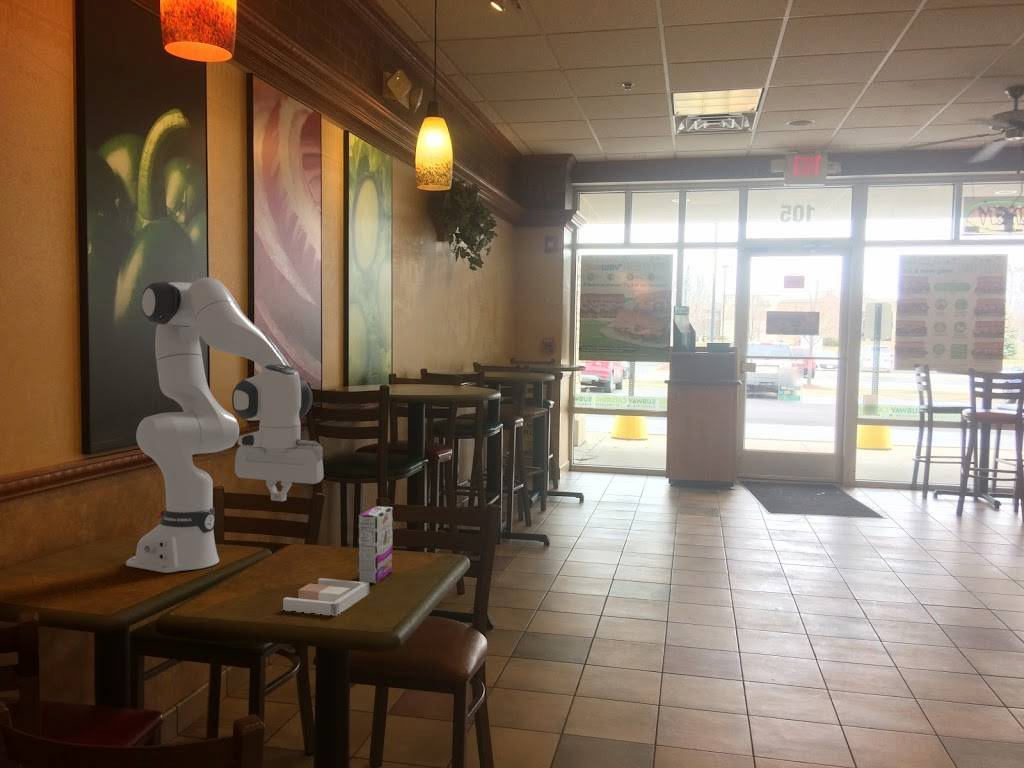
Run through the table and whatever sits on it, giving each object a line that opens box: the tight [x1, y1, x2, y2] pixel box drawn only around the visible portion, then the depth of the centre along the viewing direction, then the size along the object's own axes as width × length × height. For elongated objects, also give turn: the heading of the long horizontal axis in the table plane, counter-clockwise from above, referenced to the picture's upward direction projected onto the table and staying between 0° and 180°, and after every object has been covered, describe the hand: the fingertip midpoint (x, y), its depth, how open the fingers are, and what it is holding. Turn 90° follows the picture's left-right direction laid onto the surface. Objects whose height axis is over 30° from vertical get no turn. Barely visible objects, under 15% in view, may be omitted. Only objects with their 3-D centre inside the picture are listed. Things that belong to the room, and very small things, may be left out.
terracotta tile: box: [297, 583, 330, 600], centre depth 175 cm, size 5×5×3 cm
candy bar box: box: [358, 505, 394, 584], centre depth 194 cm, size 11×5×16 cm, turn 168°
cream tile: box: [318, 586, 350, 602], centre depth 174 cm, size 5×5×3 cm
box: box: [282, 577, 370, 617], centre depth 174 cm, size 12×16×2 cm
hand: (278, 500), depth 177 cm, fingers closed
